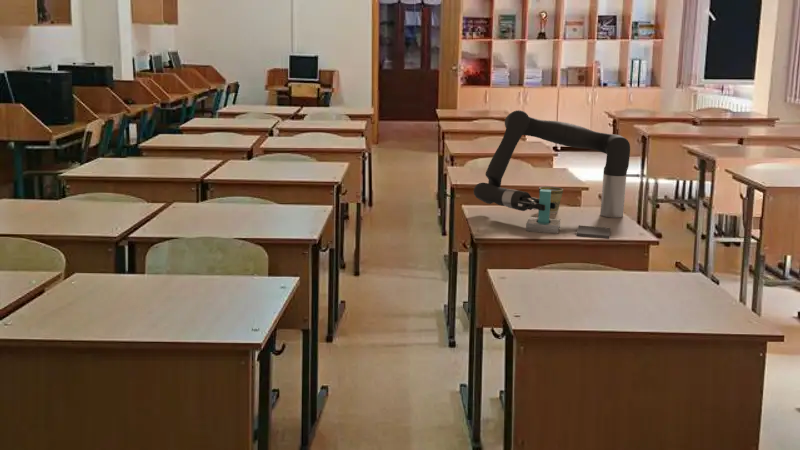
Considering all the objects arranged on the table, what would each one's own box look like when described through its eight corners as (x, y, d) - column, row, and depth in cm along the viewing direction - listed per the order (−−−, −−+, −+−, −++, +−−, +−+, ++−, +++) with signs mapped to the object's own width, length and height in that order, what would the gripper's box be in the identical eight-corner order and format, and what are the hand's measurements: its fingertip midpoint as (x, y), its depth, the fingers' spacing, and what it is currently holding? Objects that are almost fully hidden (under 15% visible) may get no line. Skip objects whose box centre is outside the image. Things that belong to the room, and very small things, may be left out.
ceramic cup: (557, 215, 383) (559, 191, 381) (534, 212, 388) (535, 189, 385) (566, 210, 395) (567, 186, 393) (543, 207, 399) (545, 184, 397)
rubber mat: (578, 227, 362) (578, 225, 362) (610, 230, 359) (610, 227, 359) (576, 235, 348) (576, 233, 348) (609, 238, 346) (609, 235, 346)
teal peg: (538, 227, 360) (540, 189, 357) (548, 228, 359) (551, 189, 356) (537, 229, 357) (539, 191, 353) (547, 230, 356) (550, 191, 352)
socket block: (529, 224, 365) (529, 216, 364) (560, 226, 362) (560, 219, 362) (525, 230, 354) (526, 223, 353) (557, 233, 351) (558, 225, 350)
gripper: (504, 192, 361) (538, 199, 349) (529, 188, 370) (562, 195, 358) (503, 211, 363) (536, 218, 350) (527, 207, 372) (561, 214, 360)
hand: (549, 207), depth 354 cm, fingers closed on teal peg, 5 cm apart
